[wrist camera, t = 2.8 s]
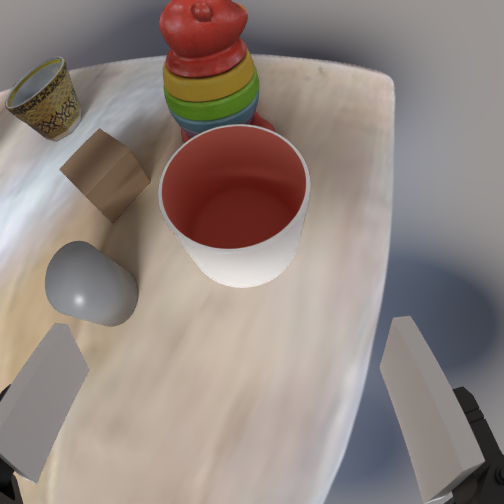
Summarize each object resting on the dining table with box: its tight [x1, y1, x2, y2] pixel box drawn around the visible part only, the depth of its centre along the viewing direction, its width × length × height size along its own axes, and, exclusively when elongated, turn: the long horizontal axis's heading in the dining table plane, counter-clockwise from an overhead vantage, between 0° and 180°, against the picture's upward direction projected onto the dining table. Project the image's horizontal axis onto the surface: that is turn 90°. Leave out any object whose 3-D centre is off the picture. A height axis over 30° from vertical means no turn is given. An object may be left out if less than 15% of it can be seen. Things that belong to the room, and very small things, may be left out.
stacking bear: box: [160, 0, 276, 143], centre depth 25 cm, size 11×10×18 cm
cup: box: [158, 124, 311, 288], centre depth 24 cm, size 10×10×10 cm
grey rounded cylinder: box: [45, 241, 138, 326], centre depth 24 cm, size 6×6×7 cm
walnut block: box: [60, 128, 150, 223], centre depth 29 cm, size 6×6×6 cm
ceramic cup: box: [5, 57, 81, 141], centre depth 32 cm, size 13×10×10 cm
